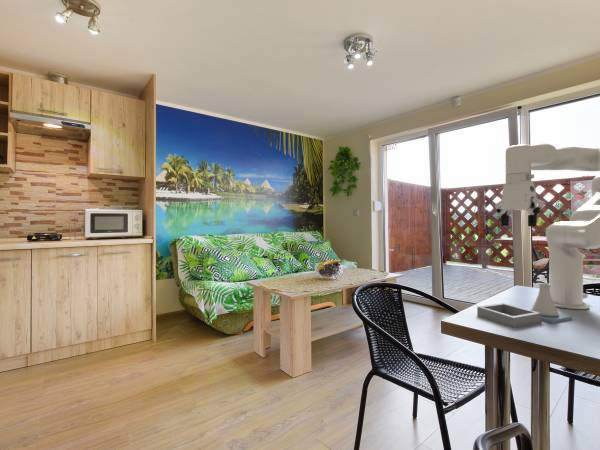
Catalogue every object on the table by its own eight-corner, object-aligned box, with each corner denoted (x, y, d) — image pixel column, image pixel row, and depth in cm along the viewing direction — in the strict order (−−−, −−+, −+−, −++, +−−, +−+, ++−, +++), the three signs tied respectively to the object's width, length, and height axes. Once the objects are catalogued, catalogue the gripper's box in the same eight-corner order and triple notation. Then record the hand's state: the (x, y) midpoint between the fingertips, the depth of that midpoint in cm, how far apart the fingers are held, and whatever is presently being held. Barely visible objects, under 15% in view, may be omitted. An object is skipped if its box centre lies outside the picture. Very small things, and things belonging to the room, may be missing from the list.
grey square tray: (503, 311, 106) (503, 302, 106) (541, 322, 94) (541, 313, 94) (477, 315, 102) (477, 306, 101) (513, 327, 90) (514, 317, 90)
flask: (564, 317, 95) (564, 286, 95) (538, 316, 96) (538, 286, 96) (549, 310, 102) (549, 282, 102) (526, 310, 104) (526, 281, 103)
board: (538, 310, 106) (538, 308, 106) (571, 319, 96) (571, 316, 96) (518, 314, 102) (518, 311, 102) (551, 323, 93) (551, 320, 93)
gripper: (551, 176, 102) (551, 226, 102) (502, 182, 118) (502, 225, 118) (536, 175, 99) (536, 226, 99) (488, 182, 115) (488, 225, 116)
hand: (518, 226), depth 109 cm, fingers open, 9 cm apart
